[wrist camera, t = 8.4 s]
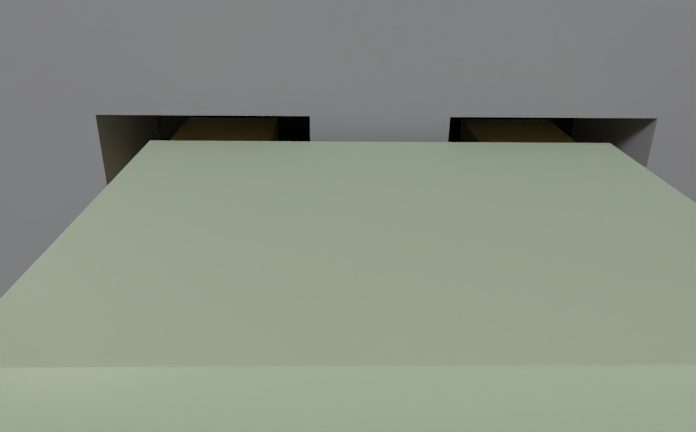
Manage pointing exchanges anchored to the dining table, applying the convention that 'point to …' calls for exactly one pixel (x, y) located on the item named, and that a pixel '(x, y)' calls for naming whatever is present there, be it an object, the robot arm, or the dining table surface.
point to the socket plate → (323, 82)
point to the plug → (361, 290)
